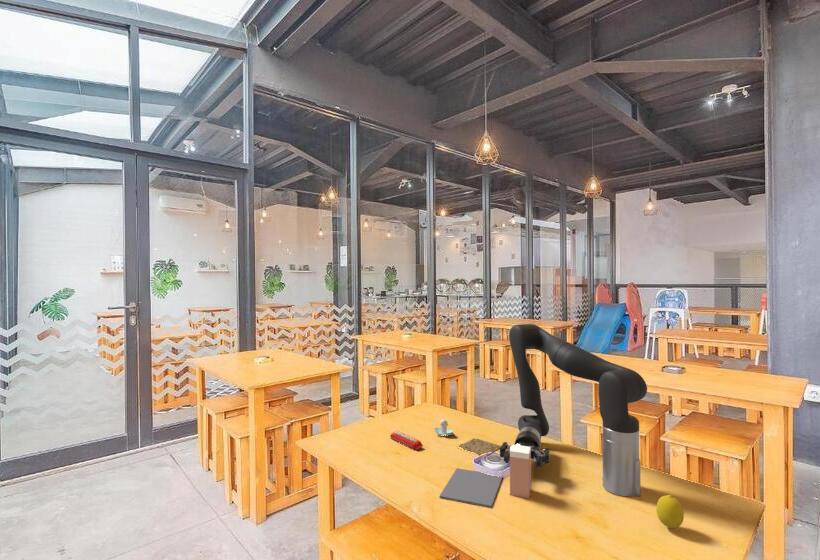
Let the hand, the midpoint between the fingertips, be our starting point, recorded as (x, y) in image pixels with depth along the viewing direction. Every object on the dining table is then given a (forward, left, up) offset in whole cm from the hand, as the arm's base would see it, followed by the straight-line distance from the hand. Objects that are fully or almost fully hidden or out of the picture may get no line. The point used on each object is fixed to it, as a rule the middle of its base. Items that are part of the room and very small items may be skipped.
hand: (521, 462), depth 122 cm
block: (0, +4, -7) cm, 8 cm away
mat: (+13, +6, -7) cm, 16 cm away
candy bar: (+42, -17, -7) cm, 46 cm away
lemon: (-35, +9, -7) cm, 37 cm away
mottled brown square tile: (+17, -23, -7) cm, 30 cm away
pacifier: (+32, -30, -7) cm, 44 cm away
